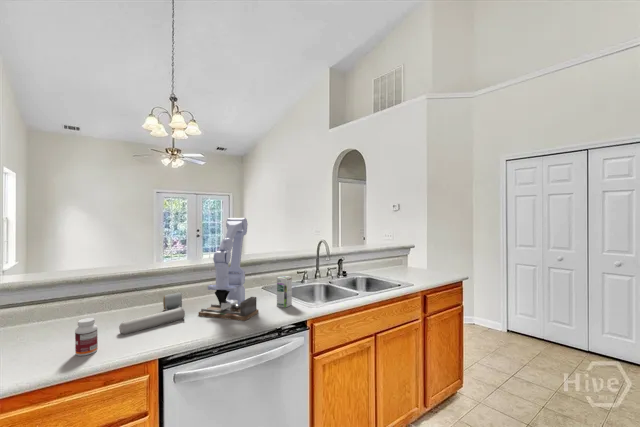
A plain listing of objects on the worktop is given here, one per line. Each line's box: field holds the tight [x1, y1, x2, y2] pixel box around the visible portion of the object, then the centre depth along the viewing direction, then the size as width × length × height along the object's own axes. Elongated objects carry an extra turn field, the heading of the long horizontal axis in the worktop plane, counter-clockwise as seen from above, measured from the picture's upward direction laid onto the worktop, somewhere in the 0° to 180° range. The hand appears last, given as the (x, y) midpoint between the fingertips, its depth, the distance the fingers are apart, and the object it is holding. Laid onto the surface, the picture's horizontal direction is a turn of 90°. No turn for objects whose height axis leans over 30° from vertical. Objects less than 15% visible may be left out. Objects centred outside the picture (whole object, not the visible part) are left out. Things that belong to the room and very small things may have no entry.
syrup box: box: [276, 275, 293, 309], centre depth 166 cm, size 6×6×14 cm
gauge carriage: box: [221, 299, 240, 312], centre depth 151 cm, size 8×9×4 cm
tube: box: [118, 307, 186, 335], centre depth 138 cm, size 5×5×25 cm
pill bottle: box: [74, 317, 99, 357], centre depth 112 cm, size 6×6×11 cm
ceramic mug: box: [162, 292, 183, 311], centre depth 159 cm, size 11×8×8 cm
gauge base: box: [197, 296, 259, 322], centre depth 153 cm, size 24×12×8 cm, turn 73°
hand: (222, 306), depth 154 cm, fingers closed
